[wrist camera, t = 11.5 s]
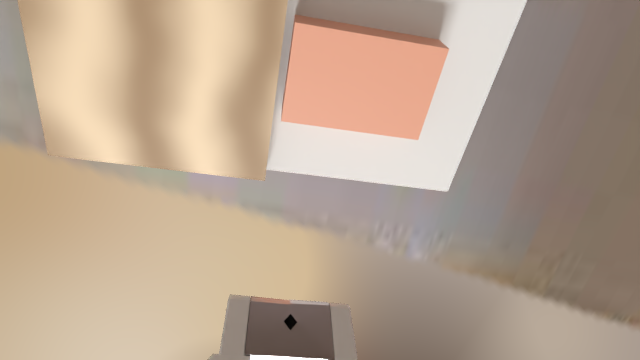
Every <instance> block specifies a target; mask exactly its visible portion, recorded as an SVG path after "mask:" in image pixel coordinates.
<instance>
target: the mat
mask: <svg viewBox="0 0 640 360" xmlns="http://www.w3.org/2000/svg"><path fill="white" fill-rule="evenodd" d="M526 2H527V0H288V4H287V11H286V19H285V27H284V35H283V43H282V50H281V58H280V66H279V74H278V81H277V89H276V97H275V105H274V113H273V120H272V128H271V136H270V144H269V152H268V159H267V167H266V170H274V171H283V172H291V173H299V174H307V175H316V176H324V177H332V178H340V179H348V180H357V181H365V182H373V183H381V184H389V185H398V186H406V187H414V188H422V189H431V190H439V191H447V192H448V189H449V187H450V184H451V182H452V180H453V177H454V175H455V172H456V170H457V168H458V165H459V163H460V160H461V158H462V156H463V153H464V151H465V148H466V146H467V144H468V141H469V139H470V136H471V134H472V132H473V129H474V127H475V124H476V122H477V120H478V117H479V115H480V112H481V110H482V108H483V105H484V103H485V100H486V98H487V96H488V93H489V91H490V88H491V86H492V84H493V81H494V79H495V76H496V74H497V71H498V69H499V67H500V64H501V62H502V59H503V57H504V55H505V52H506V50H507V47H508V45H509V43H510V40H511V38H512V35H513V33H514V31H515V28H516V26H517V23H518V21H519V19H520V16H521V14H522V11H523V9H524V7H525V4H526ZM295 15H301V16H307V17H312V18H318V19H324V20H330V21H335V22H341V23H347V24H352V25H358V26H364V27H370V28H375V29H381V30H387V31H393V32H398V33H404V34H410V35H415V36H421V37H427V38H433V39H438V40H440V41H441V42H442V43H443V44H444V45H446V46H447V47H448V48H449V51H448V54H447V57H446V60H445V63H444V66H443V69H442V72H441V75H440V78H439V81H438V83H437V86H436V89H435V92H434V95H433V98H432V101H431V104H430V107H429V110H428V113H427V116H426V119H425V122H424V124H423V127H422V130H421V133H420V136H419V139H418V140H413V139H406V138H399V137H391V136H384V135H377V134H370V133H362V132H355V131H348V130H341V129H333V128H326V127H319V126H312V125H304V124H297V123H290V122H283V121H281V114H282V103H283V96H284V89H285V82H286V74H287V67H288V60H289V53H290V45H291V38H292V31H293V24H294V16H295Z"/></svg>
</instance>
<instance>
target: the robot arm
mask: <svg viewBox="0 0 640 360" xmlns="http://www.w3.org/2000/svg"><path fill="white" fill-rule="evenodd" d="M208 360H358V359H357V352H356V345H355V339H354V332H353V325H352V318H351V311H350V307H349V305H348V304H339V303H327V302H316V301H301V300H281V299H272V298H262V297H253V296H251V298H250V296H241V295H230V296H229V299H228V304H227V310H226V316H225V322H224V328H223V334H222V340H221V346H220V352H219V354H212V355H211V356H210V358H209V359H208Z"/></svg>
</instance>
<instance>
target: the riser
mask: <svg viewBox="0 0 640 360" xmlns="http://www.w3.org/2000/svg"><path fill="white" fill-rule="evenodd" d="M287 4H288V0H18V5H19V10H20V16H21V21H22V26H23V31H24V36H25V41H26V46H27V51H28V56H29V61H30V66H31V71H32V76H33V82H34V87H35V92H36V97H37V102H38V107H39V112H40V117H41V122H42V127H43V132H44V137H45V142H46V148H47V153H48V155H50V156H58V157H67V158H75V159H84V160H92V161H101V162H109V163H118V164H126V165H135V166H143V167H151V168H160V169H168V170H177V171H185V172H194V173H202V174H211V175H219V176H228V177H236V178H245V179H253V180H262V181H265V175H266V167H267V159H268V152H269V144H270V136H271V128H272V120H273V113H274V105H275V97H276V89H277V81H278V74H279V66H280V58H281V50H282V43H283V35H284V27H285V19H286V11H287Z"/></svg>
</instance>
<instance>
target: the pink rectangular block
mask: <svg viewBox="0 0 640 360" xmlns="http://www.w3.org/2000/svg"><path fill="white" fill-rule="evenodd" d="M448 51H449V48H448V47H447V46H446V45H444V44H443V43H442V42H441V41H440V40H438V39H433V38H427V37H421V36H415V35H410V34H404V33H398V32H393V31H387V30H381V29H375V28H370V27H364V26H358V25H352V24H347V23H341V22H335V21H330V20H324V19H318V18H312V17H307V16H301V15H295V16H294V24H293V31H292V38H291V45H290V53H289V60H288V67H287V74H286V82H285V89H284V96H283V103H282V114H281V121H283V122H290V123H297V124H304V125H312V126H319V127H326V128H333V129H341V130H348V131H355V132H362V133H370V134H377V135H384V136H391V137H399V138H406V139H413V140H418V139H419V136H420V133H421V130H422V127H423V124H424V122H425V119H426V116H427V113H428V110H429V107H430V104H431V101H432V98H433V95H434V92H435V89H436V86H437V83H438V81H439V78H440V75H441V72H442V69H443V66H444V63H445V60H446V57H447V54H448Z"/></svg>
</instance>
